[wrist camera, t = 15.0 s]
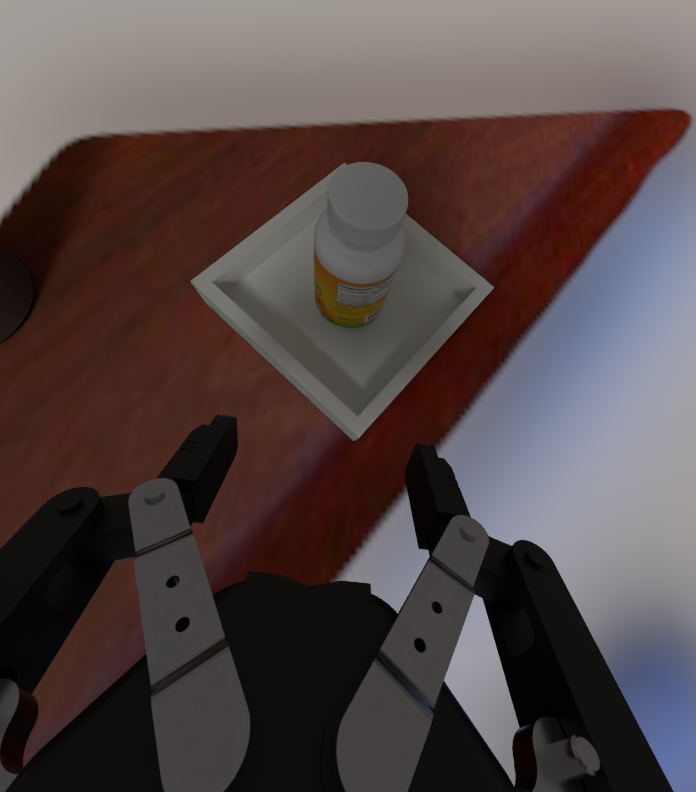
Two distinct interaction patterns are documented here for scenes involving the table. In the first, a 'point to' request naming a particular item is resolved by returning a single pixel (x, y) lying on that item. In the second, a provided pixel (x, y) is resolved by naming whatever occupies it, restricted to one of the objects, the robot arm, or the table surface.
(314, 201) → the tray
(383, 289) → the supplement bottle
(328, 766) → the robot arm
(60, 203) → the table surface
